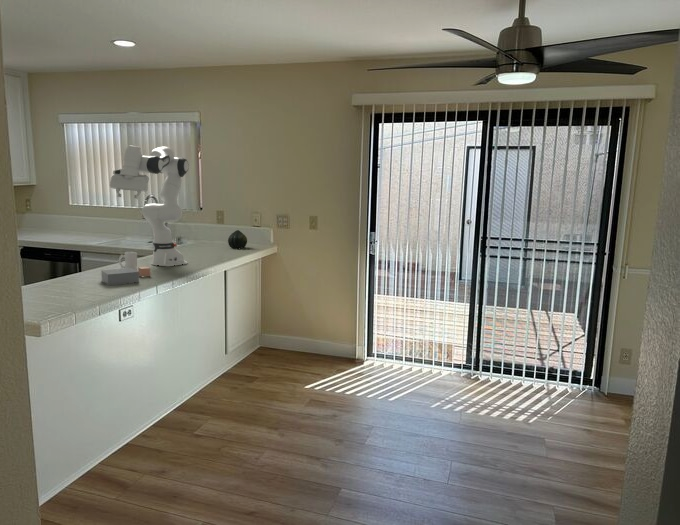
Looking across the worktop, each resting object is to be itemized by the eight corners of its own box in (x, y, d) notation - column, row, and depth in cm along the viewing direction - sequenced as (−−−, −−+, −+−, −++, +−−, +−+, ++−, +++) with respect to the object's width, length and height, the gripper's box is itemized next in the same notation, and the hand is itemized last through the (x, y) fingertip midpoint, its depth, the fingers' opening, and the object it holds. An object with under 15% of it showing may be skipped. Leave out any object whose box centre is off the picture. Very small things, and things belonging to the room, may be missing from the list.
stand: (131, 278, 293) (131, 267, 292) (138, 282, 284) (138, 271, 283) (101, 281, 283) (101, 270, 282) (108, 285, 274) (107, 274, 273)
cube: (147, 274, 304) (147, 266, 303) (150, 276, 300) (150, 268, 299) (138, 275, 301) (138, 267, 300) (141, 277, 297) (141, 268, 296)
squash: (235, 243, 401) (244, 228, 408) (221, 242, 409) (230, 227, 415) (245, 254, 411) (253, 238, 418) (231, 252, 419) (239, 237, 426)
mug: (137, 271, 312) (137, 251, 309) (136, 273, 305) (136, 253, 303) (119, 271, 309) (119, 251, 307) (118, 273, 302) (117, 253, 300)
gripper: (151, 176, 294) (148, 200, 293) (115, 173, 294) (112, 197, 293) (147, 173, 288) (144, 198, 287) (110, 170, 288) (107, 195, 286)
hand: (127, 197), depth 290 cm, fingers open, 8 cm apart
